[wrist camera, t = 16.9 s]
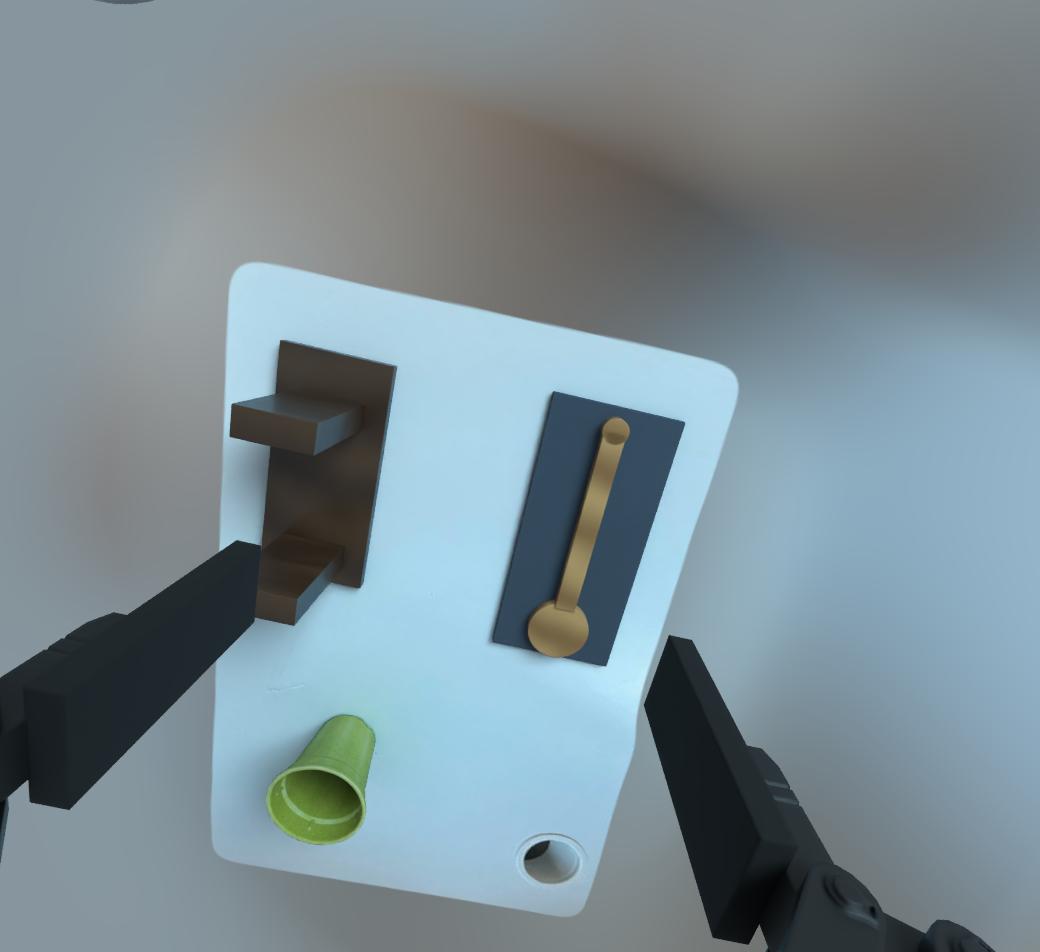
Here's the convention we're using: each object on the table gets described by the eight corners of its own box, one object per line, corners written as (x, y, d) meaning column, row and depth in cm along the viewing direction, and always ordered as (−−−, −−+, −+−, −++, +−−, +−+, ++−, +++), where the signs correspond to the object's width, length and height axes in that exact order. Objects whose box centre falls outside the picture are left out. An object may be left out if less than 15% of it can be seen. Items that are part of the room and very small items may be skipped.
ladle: (584, 408, 44) (586, 410, 42) (650, 424, 44) (653, 426, 43) (521, 644, 50) (521, 651, 49) (579, 656, 51) (580, 664, 49)
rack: (285, 339, 43) (205, 340, 33) (397, 366, 44) (353, 375, 33) (264, 562, 49) (190, 624, 39) (363, 583, 50) (316, 651, 39)
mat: (553, 391, 44) (554, 391, 43) (683, 421, 44) (685, 422, 44) (492, 638, 51) (492, 642, 50) (605, 663, 51) (606, 666, 51)
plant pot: (304, 697, 54) (262, 763, 45) (391, 704, 54) (364, 772, 45) (308, 765, 56) (268, 840, 48) (390, 772, 56) (365, 849, 48)
